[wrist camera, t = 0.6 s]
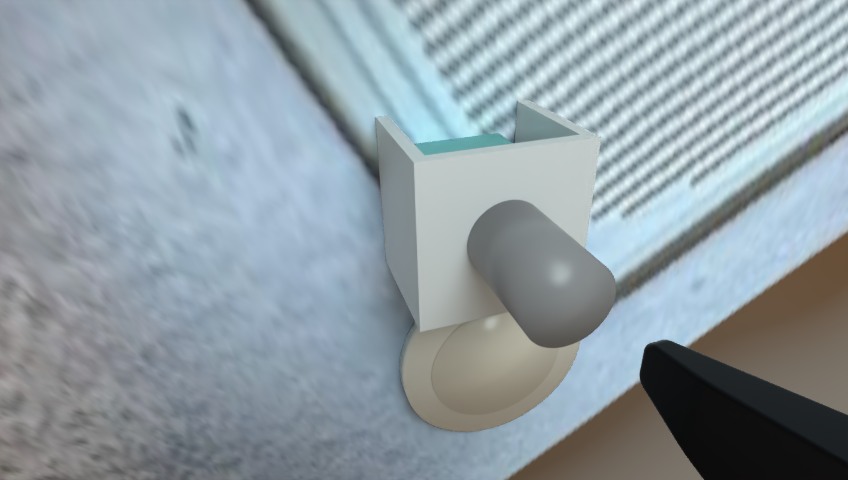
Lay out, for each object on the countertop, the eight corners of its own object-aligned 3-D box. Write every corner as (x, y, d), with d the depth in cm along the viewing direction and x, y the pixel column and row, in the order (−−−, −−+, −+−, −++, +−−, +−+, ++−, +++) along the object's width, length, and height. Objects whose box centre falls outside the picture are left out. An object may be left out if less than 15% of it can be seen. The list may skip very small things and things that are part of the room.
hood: (518, 236, 25) (646, 366, 17) (385, 260, 24) (461, 416, 16) (527, 99, 22) (691, 183, 14) (375, 116, 20) (463, 222, 13)
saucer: (561, 394, 32) (571, 407, 31) (403, 437, 29) (409, 453, 29) (581, 253, 27) (594, 264, 26) (394, 290, 25) (400, 304, 24)
